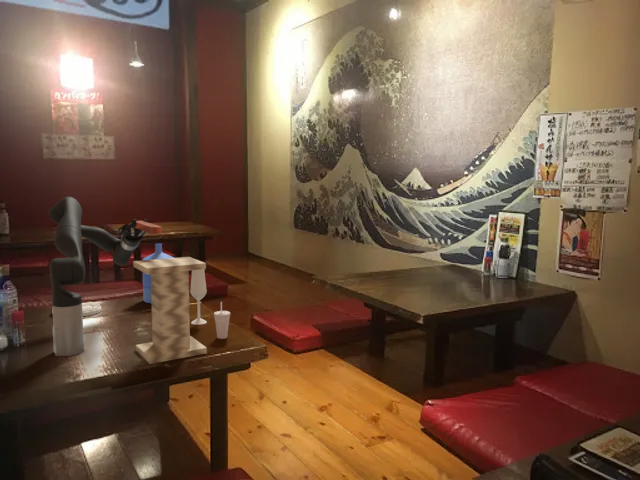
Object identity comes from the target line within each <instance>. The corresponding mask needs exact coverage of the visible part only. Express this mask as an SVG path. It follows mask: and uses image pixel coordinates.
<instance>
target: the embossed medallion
mask: <svg viewBox="0 0 640 480" xmlns="http://www.w3.org/2000/svg"><path fill="white" fill-rule="evenodd" d="M101 311H102V306H101V304H100V303H98V302H94V301H93V302H92V301H87V302H82V316H83V317H89V315H97V314H99V313H100V312H101ZM96 313H97V314H96ZM52 314H53V308H52Z"/></svg>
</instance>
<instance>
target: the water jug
mask: <svg viewBox="0 0 640 480" xmlns="http://www.w3.org/2000/svg"><path fill="white" fill-rule="evenodd" d="M154 246H155V247H154V250H155V251H154V253H152V254H149V255H148V256H146V257H143V258H142V260H155V259H168V258H175V257H174V256H172V255H170V254H167V253H165V252H163V247H162V246H163V243H155V245H154ZM142 292H143V293H142V294H143V296H142V300H143V302H145V304H149V303H150V305H152V300H151V274H145V273H144V272H142Z"/></svg>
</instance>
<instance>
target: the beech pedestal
mask: <svg viewBox="0 0 640 480" xmlns="http://www.w3.org/2000/svg"><path fill="white" fill-rule="evenodd" d="M133 268H135V269H137V270H138V271H140V272H142V273H143V272H144V273H145V274H151V300H152V304H151V334H152V337H151V338H152V342H145V343H139V344H135V351H136V352H137V353H138V354H139V355H140V356H141V357H142V358H143V359H144V360H145V361H146V362H147V363H148V364H149V365H151V364H157V363H162V362H167V361H173V360H179V359H184V358H188V357H189V358H190V357H194V356H199V355H204V354H205V355H206V354H207V353H208V348H207V346H205V345H204V344H202V343H201V342H199V341H198V340H197V339H195V338H194V337H193V336H191V333H190V331H191V330H190V327H191V326H190V325H191V324H190V323H191V322H190V321H191V319H190V274H189V273H190V271H192V270H201V269H204V270H206V269H207V263H206V262H205V261H201V260H199V259H195V258H193V257H191V256H181V257H174V258H168V259H155V260H143V259H141V260H133Z"/></svg>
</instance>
